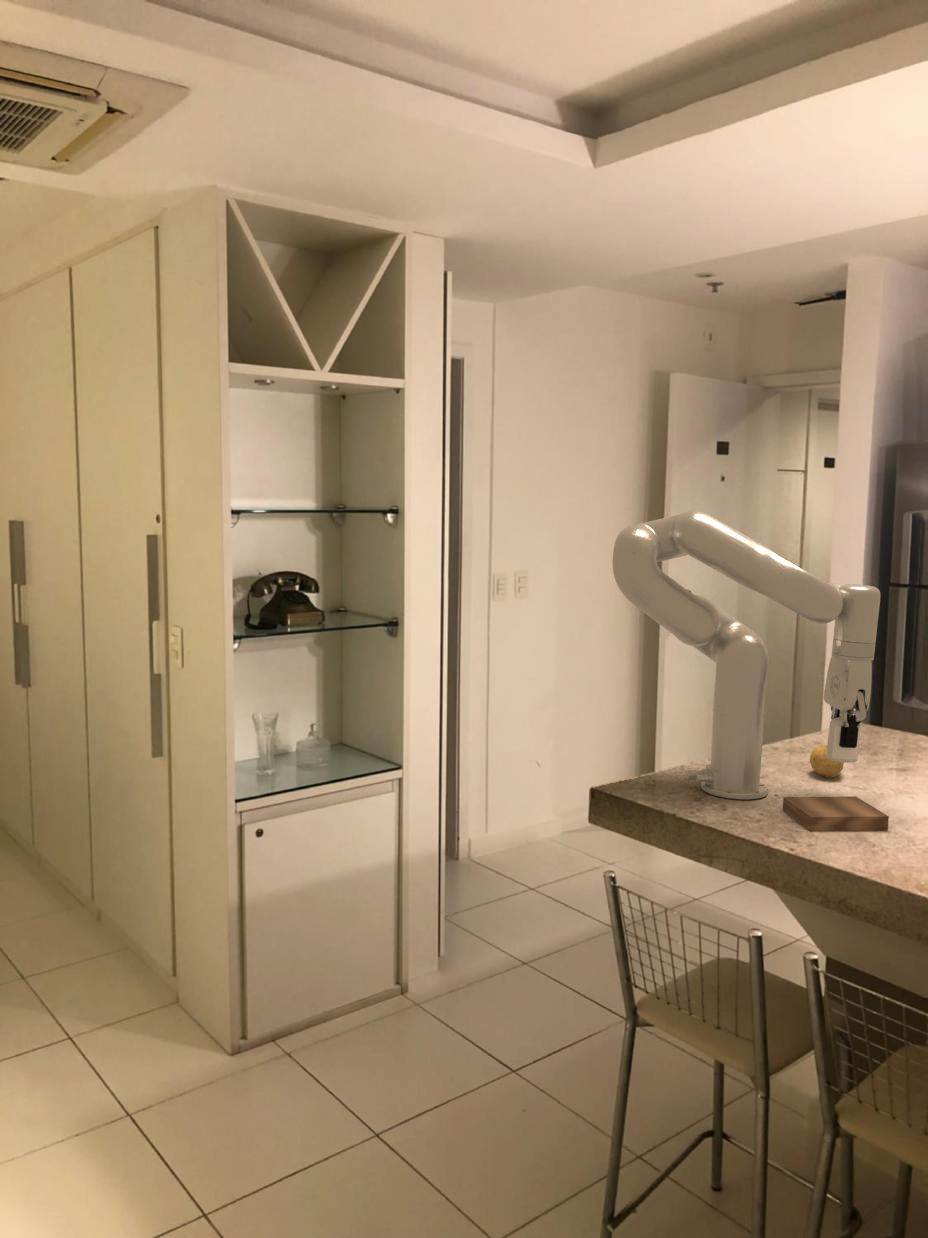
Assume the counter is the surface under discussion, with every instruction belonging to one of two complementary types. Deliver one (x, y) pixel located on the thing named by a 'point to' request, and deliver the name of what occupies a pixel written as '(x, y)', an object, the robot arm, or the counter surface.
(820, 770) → the potato
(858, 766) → the counter surface
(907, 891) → the counter surface
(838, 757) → the grey tapered bottle shape
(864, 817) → the walnut block
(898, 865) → the counter surface
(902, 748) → the counter surface
